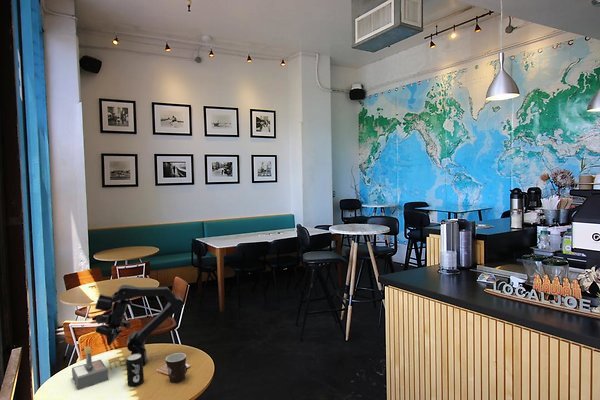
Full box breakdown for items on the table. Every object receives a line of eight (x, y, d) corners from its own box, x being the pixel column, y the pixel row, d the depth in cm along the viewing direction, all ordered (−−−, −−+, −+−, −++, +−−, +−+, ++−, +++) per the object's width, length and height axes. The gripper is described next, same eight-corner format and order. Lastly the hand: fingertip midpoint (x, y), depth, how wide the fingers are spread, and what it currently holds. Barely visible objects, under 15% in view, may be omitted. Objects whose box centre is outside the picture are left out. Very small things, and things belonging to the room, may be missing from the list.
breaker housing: (101, 369, 191) (100, 359, 191) (108, 380, 181) (107, 368, 180) (72, 378, 184) (71, 367, 183) (78, 389, 173) (77, 378, 173)
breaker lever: (90, 364, 185) (89, 345, 184) (93, 368, 180) (91, 349, 180) (85, 366, 183) (84, 347, 183) (88, 370, 179) (86, 350, 178)
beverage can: (128, 388, 173) (126, 361, 172) (127, 382, 178) (125, 355, 178) (144, 384, 176) (143, 357, 175) (143, 378, 181) (141, 352, 181)
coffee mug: (166, 377, 181) (164, 355, 181) (186, 372, 185) (184, 351, 184) (168, 389, 171) (167, 366, 170) (189, 384, 174) (188, 362, 173)
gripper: (115, 304, 201) (106, 336, 200) (90, 310, 183) (80, 344, 182) (135, 311, 199) (126, 342, 198) (111, 317, 181) (101, 352, 180)
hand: (108, 345), depth 189 cm, fingers closed
